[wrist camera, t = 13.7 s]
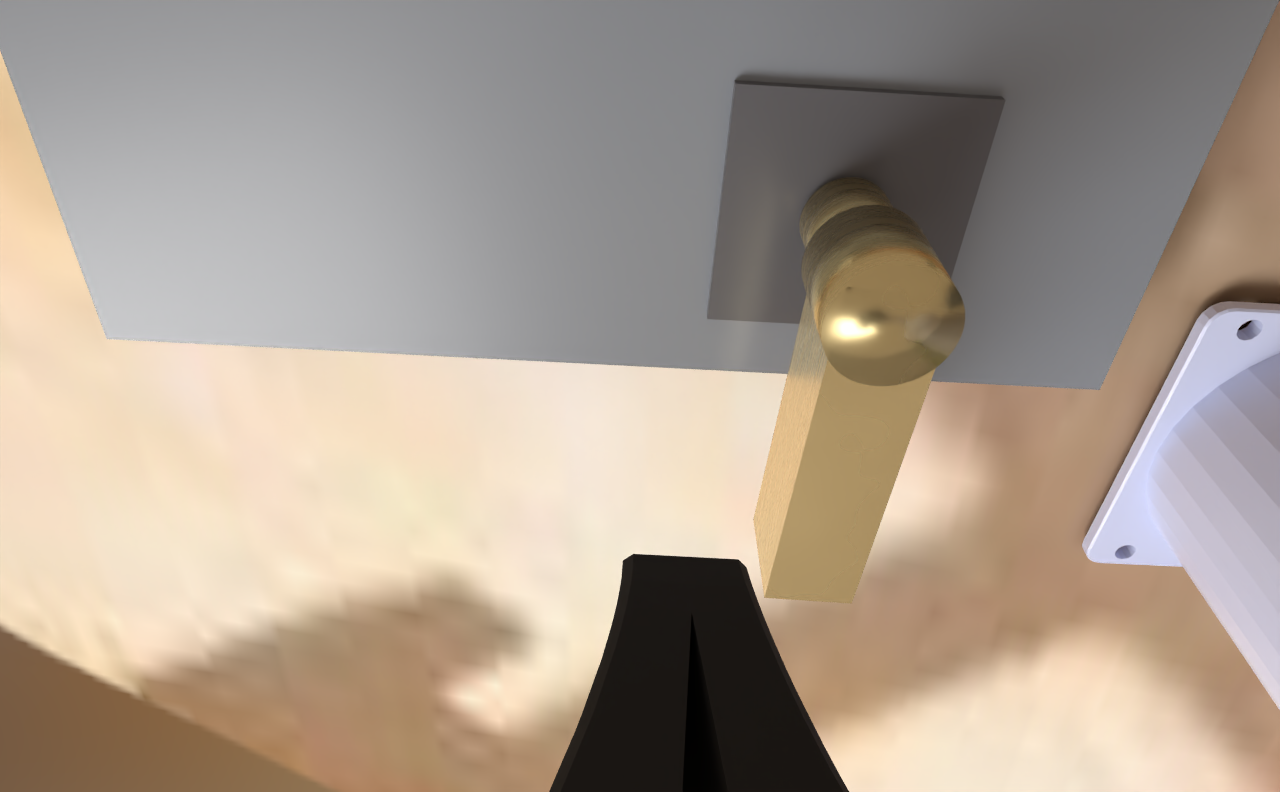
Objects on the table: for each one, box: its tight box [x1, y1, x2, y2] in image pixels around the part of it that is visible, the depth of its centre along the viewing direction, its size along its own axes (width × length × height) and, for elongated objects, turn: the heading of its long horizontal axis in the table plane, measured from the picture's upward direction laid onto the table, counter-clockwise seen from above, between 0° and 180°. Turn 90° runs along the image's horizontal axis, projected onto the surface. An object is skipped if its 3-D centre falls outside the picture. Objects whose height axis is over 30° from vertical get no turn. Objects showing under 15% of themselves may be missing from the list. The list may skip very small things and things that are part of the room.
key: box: [753, 177, 965, 603], centre depth 15 cm, size 7×2×4 cm, turn 175°
